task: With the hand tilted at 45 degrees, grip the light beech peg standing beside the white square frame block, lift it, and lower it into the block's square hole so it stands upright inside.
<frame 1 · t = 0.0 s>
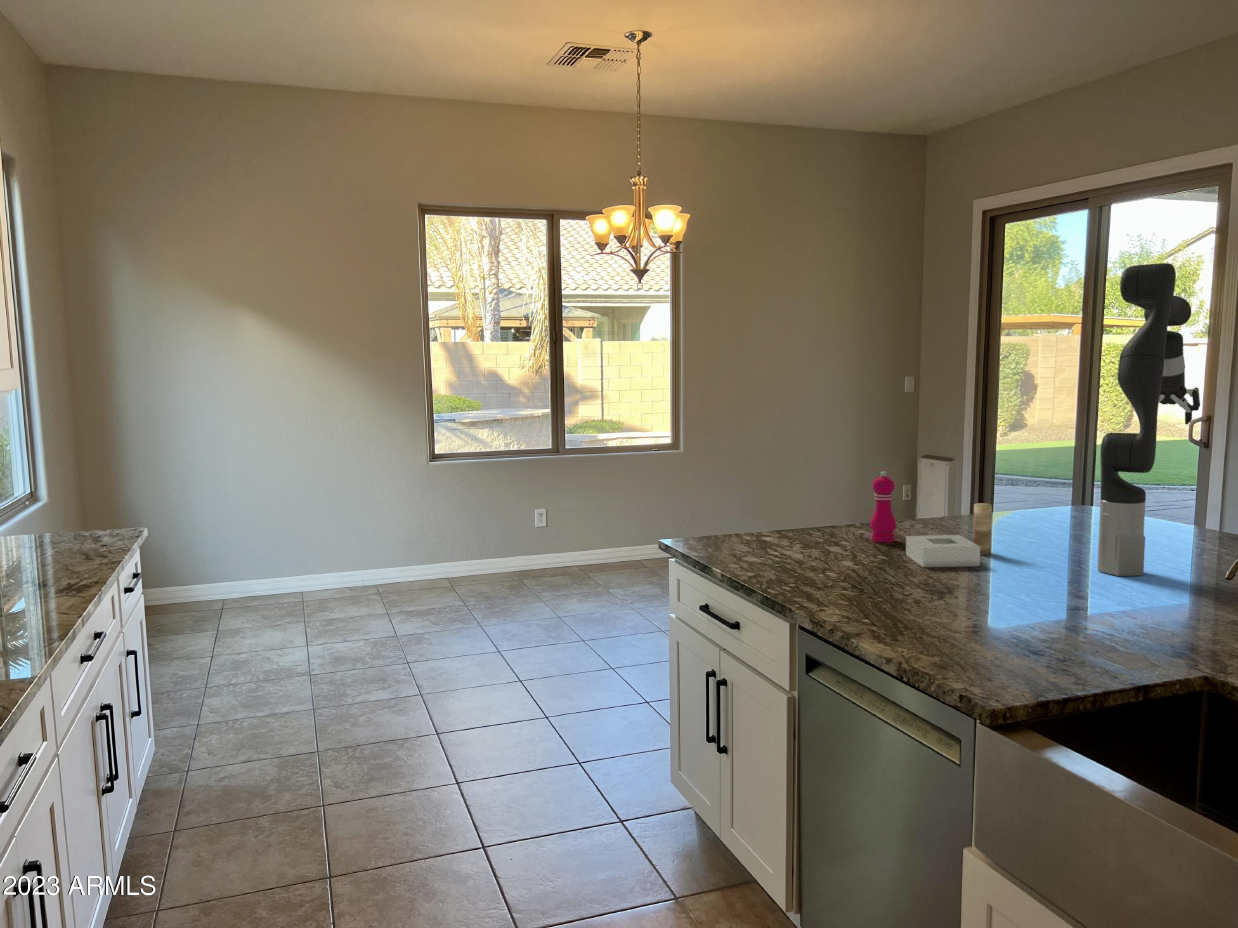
hand: (1169, 422, 244), 31 cm above the worktop, tool tilted 20°, fingers open, 8 cm apart
pepper mill: (882, 541, 246), on the worktop
peg: (981, 552, 228), on the worktop
white square frame block: (941, 560, 221), on the worktop
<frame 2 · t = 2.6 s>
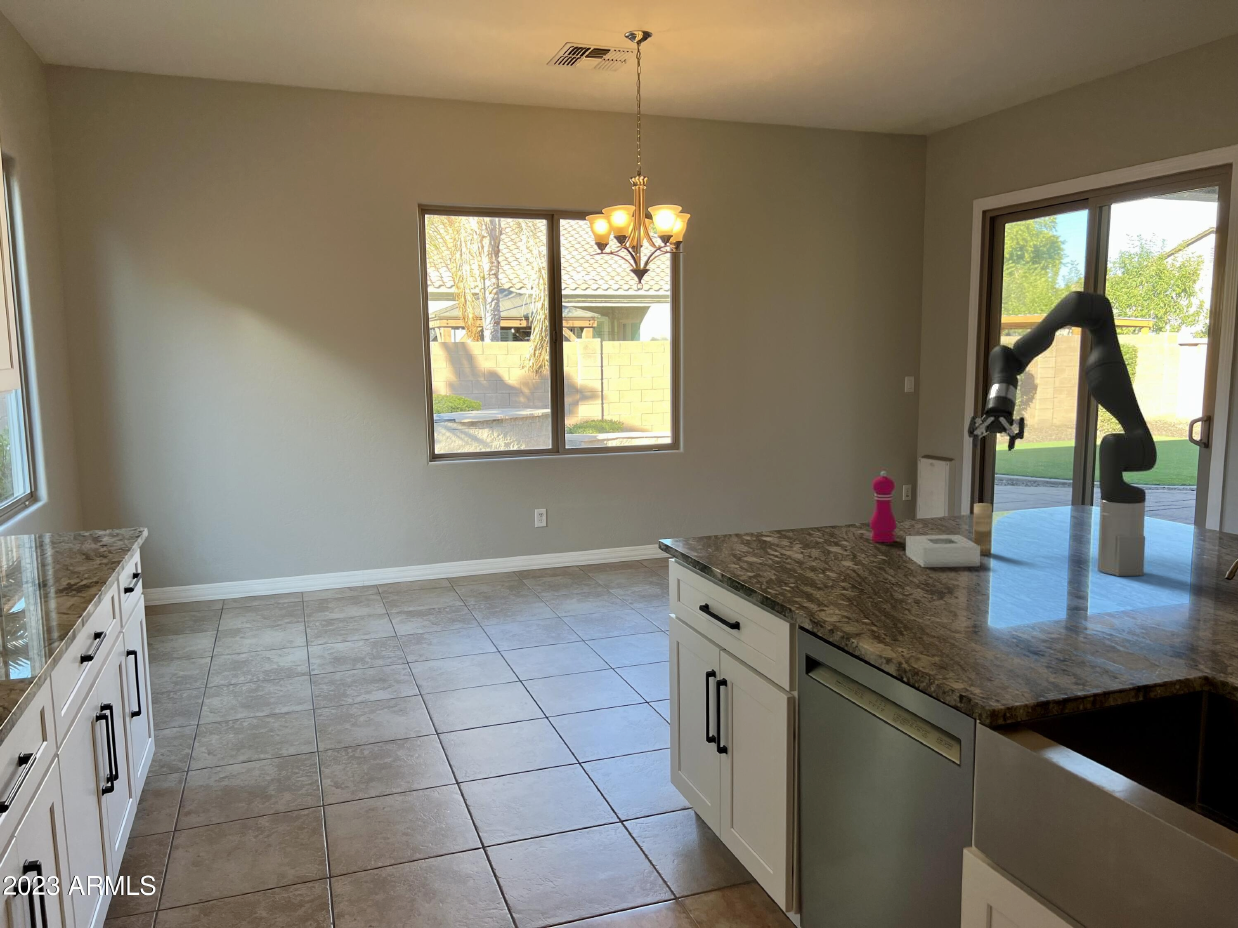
hand: (992, 448, 235), 27 cm above the worktop, tool tilted 45°, fingers open, 8 cm apart
nothing on the worktop moved.
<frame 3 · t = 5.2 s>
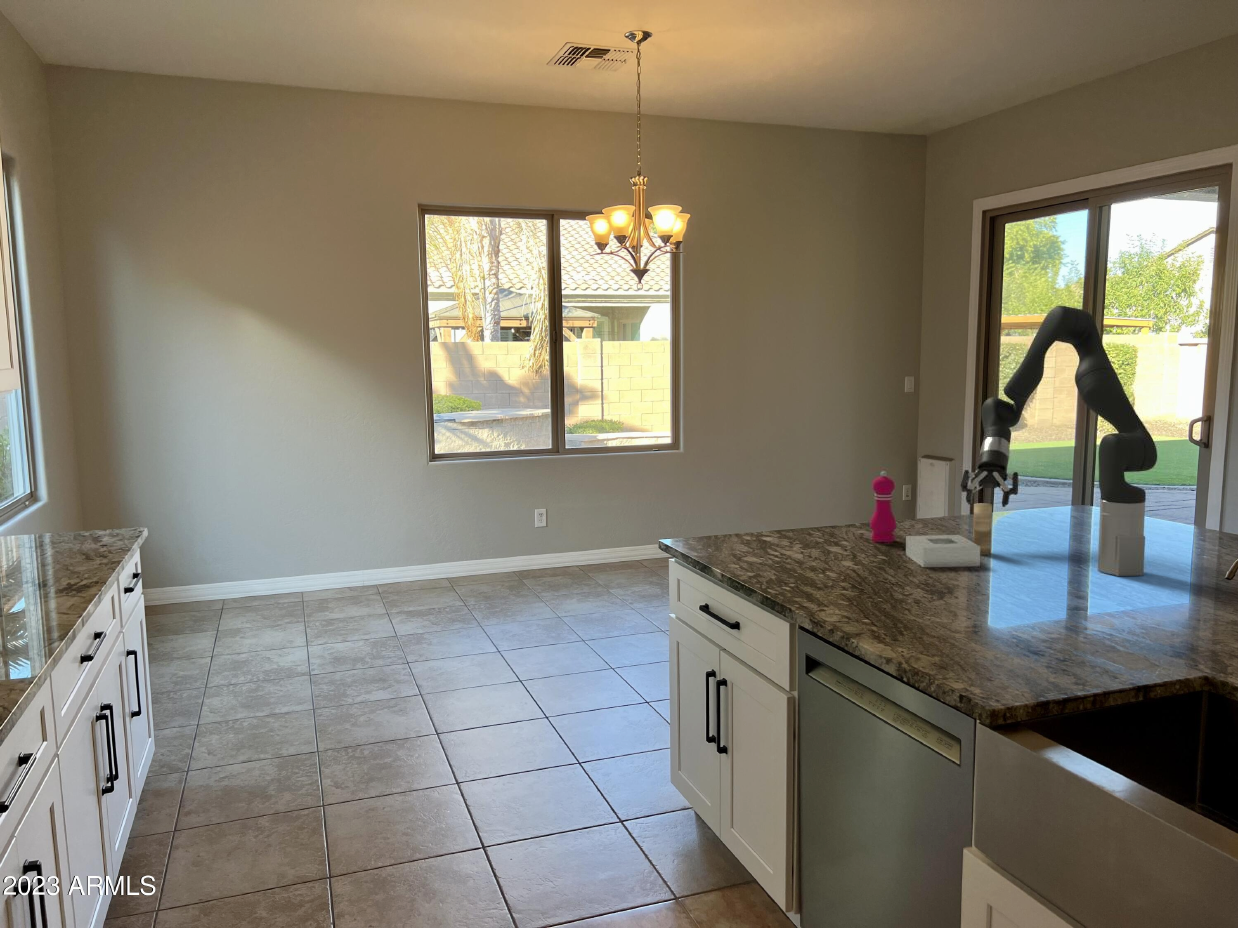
hand: (986, 504, 231), 12 cm above the worktop, tool tilted 45°, fingers open, 8 cm apart
nothing on the worktop moved.
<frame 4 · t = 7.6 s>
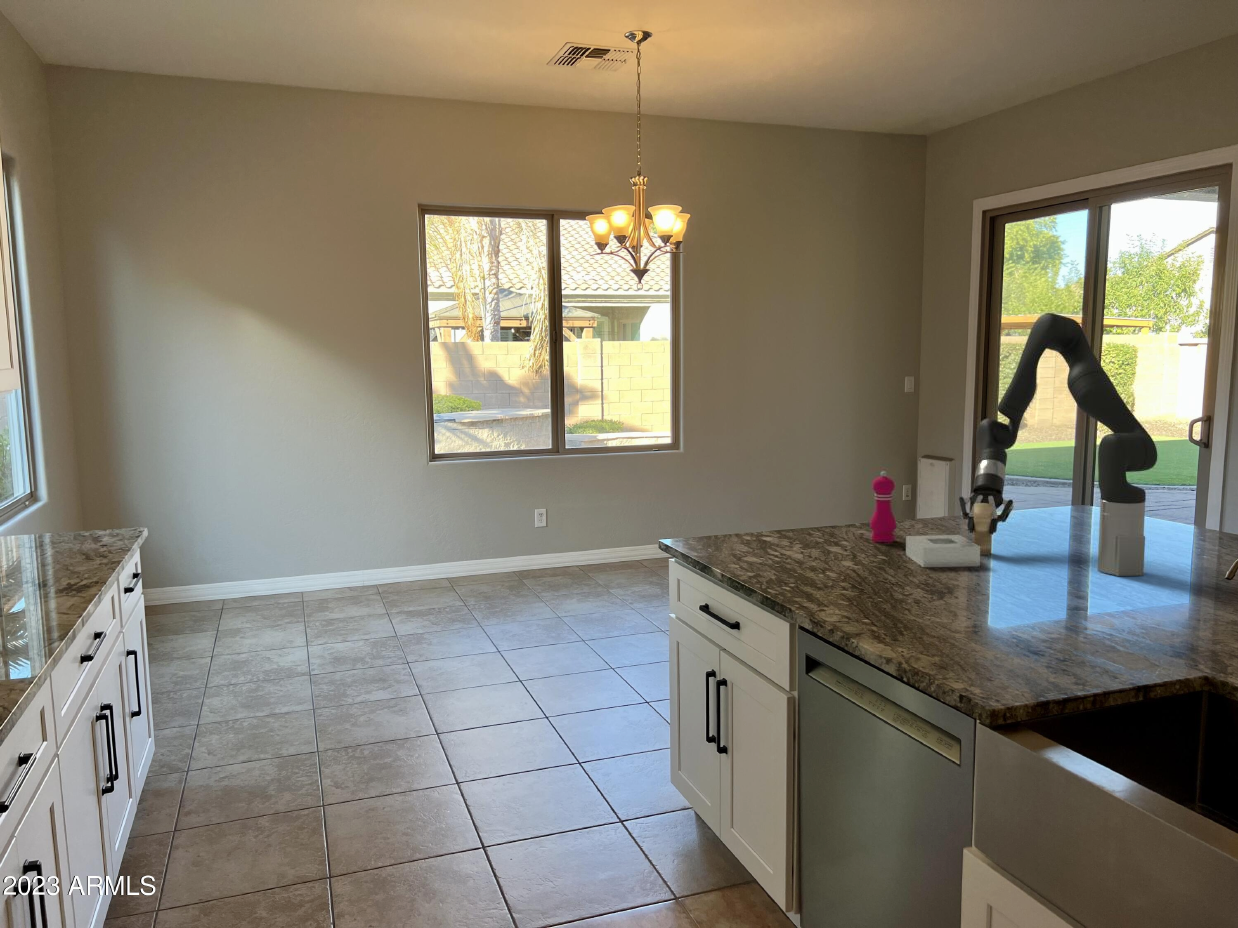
hand: (981, 531, 225), 6 cm above the worktop, tool tilted 45°, fingers closed on peg, 4 cm apart
peg: (981, 552, 228), on the worktop, touching gripper
everything else where it was.
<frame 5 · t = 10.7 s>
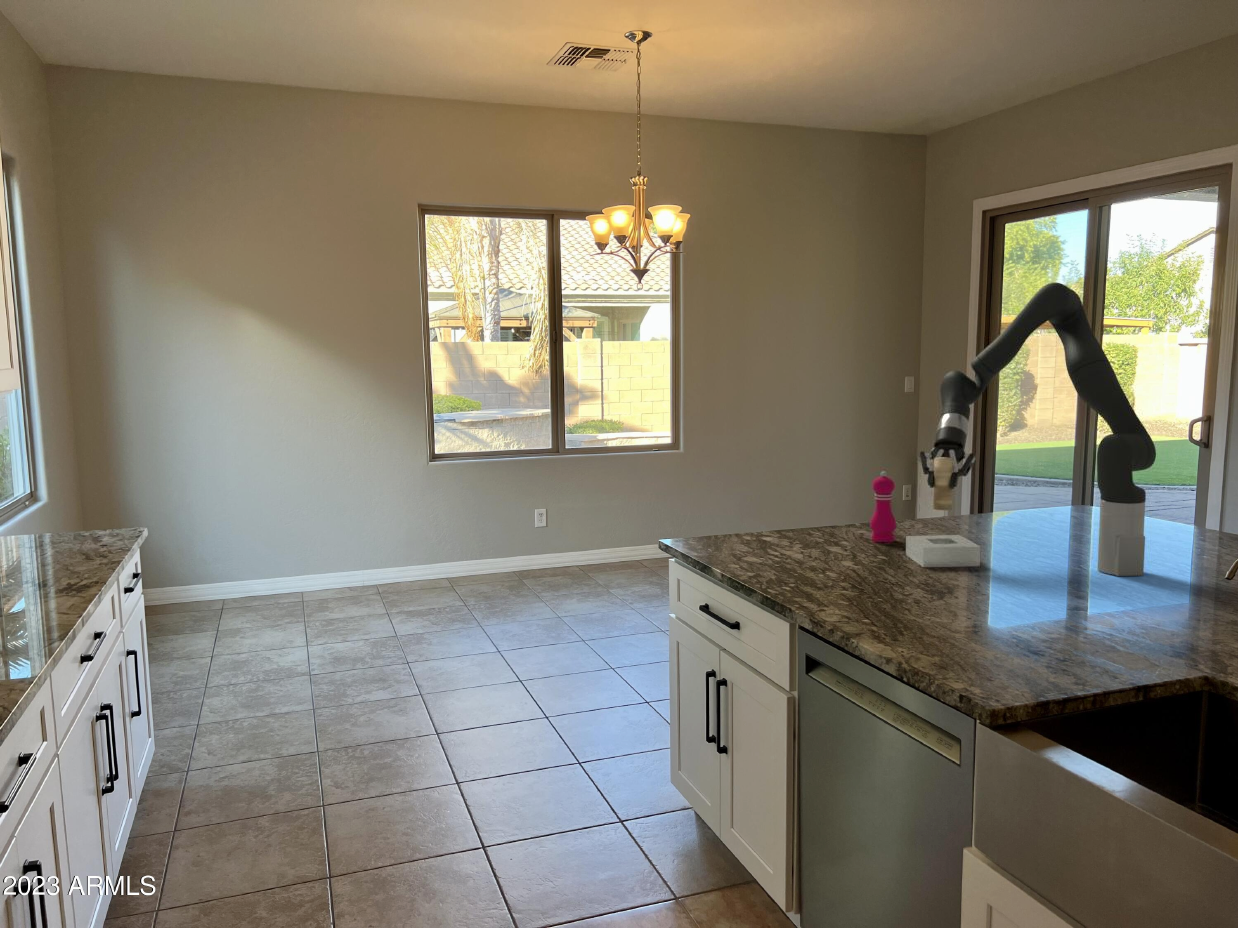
hand: (941, 486, 217), 20 cm above the worktop, tool tilted 45°, fingers closed on peg, 4 cm apart
peg: (942, 508, 220), point 13 cm above the worktop, touching gripper
everything else where it was.
when the fingers open (7 cm above the worktop, at t = 13.8 s): peg drops 1 cm, resting in white square frame block.
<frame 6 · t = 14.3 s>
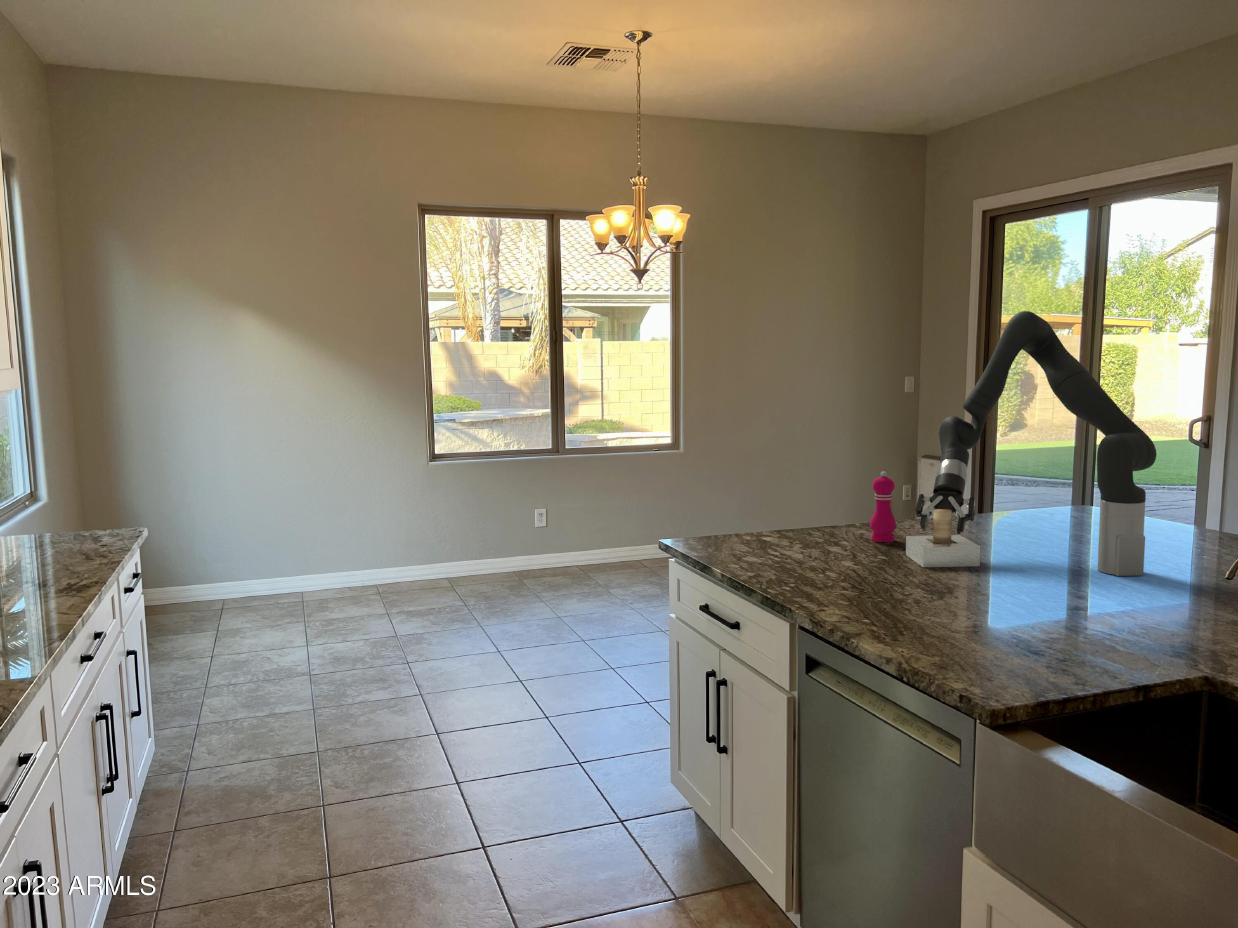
hand: (941, 530, 219), 8 cm above the worktop, tool tilted 45°, fingers open, 8 cm apart
peg: (941, 560, 221), resting in white square frame block
everything else where it was.
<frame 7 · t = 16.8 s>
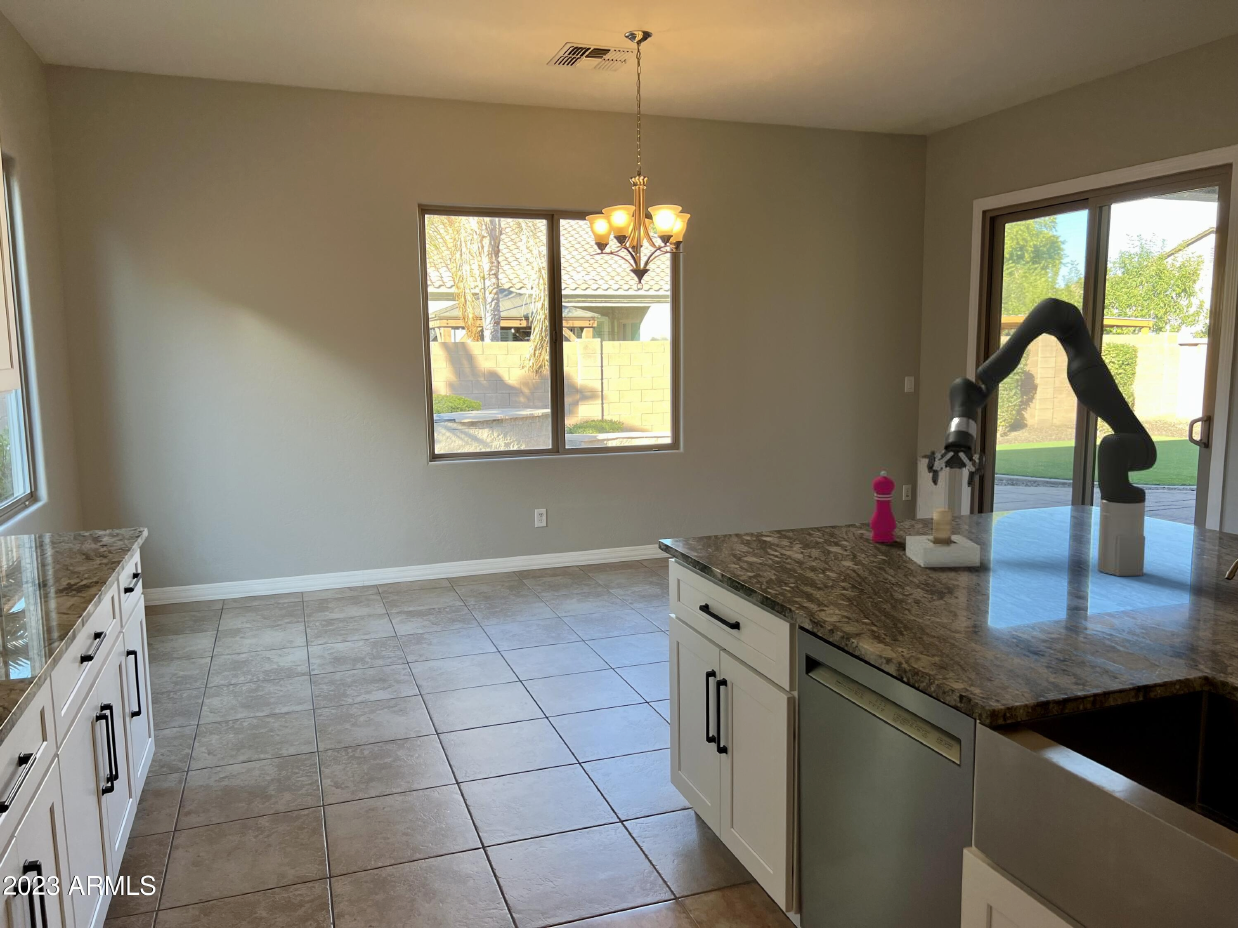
hand: (952, 484, 229), 18 cm above the worktop, tool tilted 45°, fingers open, 8 cm apart
nothing on the worktop moved.
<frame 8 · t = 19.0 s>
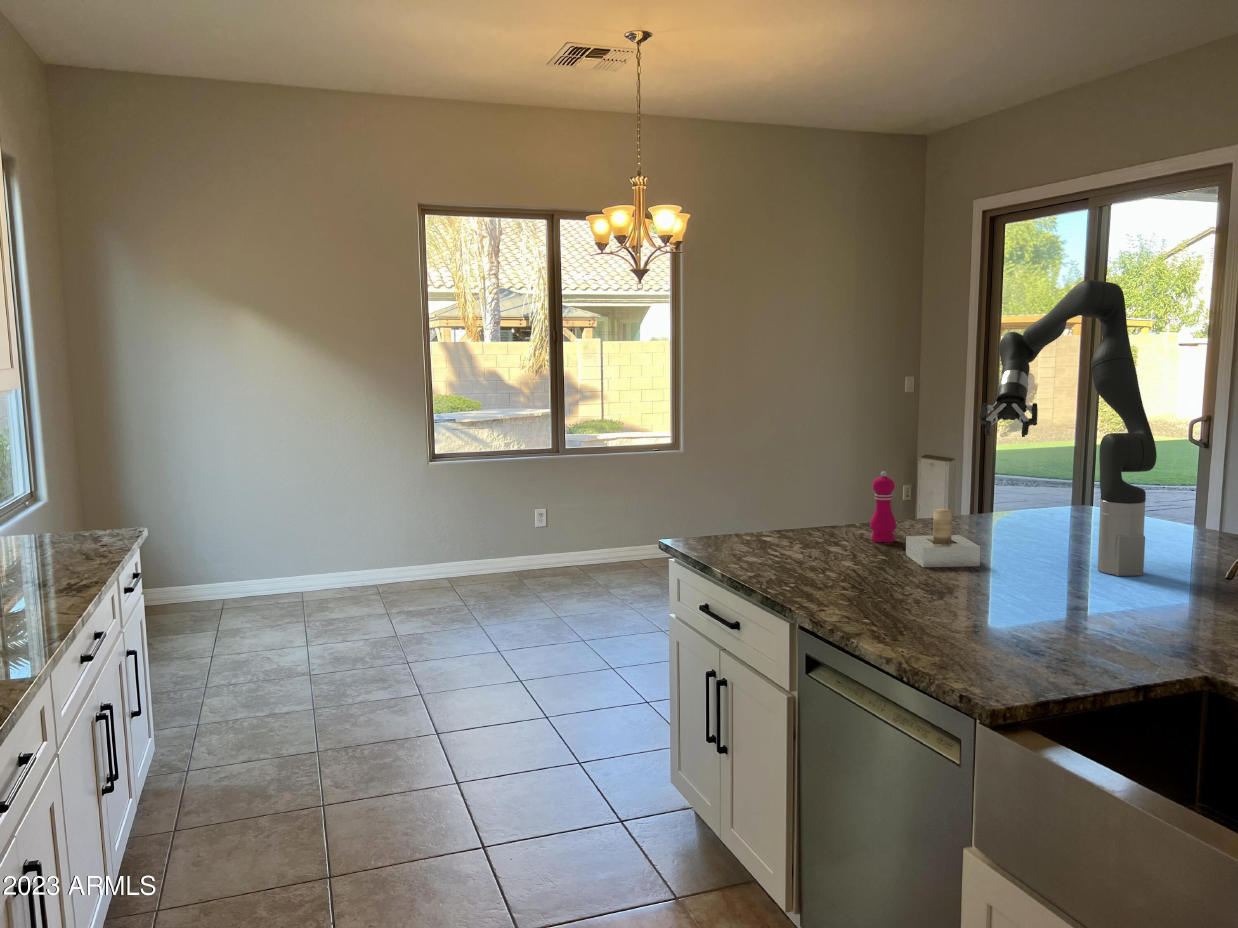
hand: (1005, 434, 231), 31 cm above the worktop, tool tilted 45°, fingers open, 8 cm apart
nothing on the worktop moved.
at the end: peg 0.1 cm off-centre on the white square frame block, point 0.0 cm above the white square frame block's base; peg tilted 0°; the gripper is holding nothing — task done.
